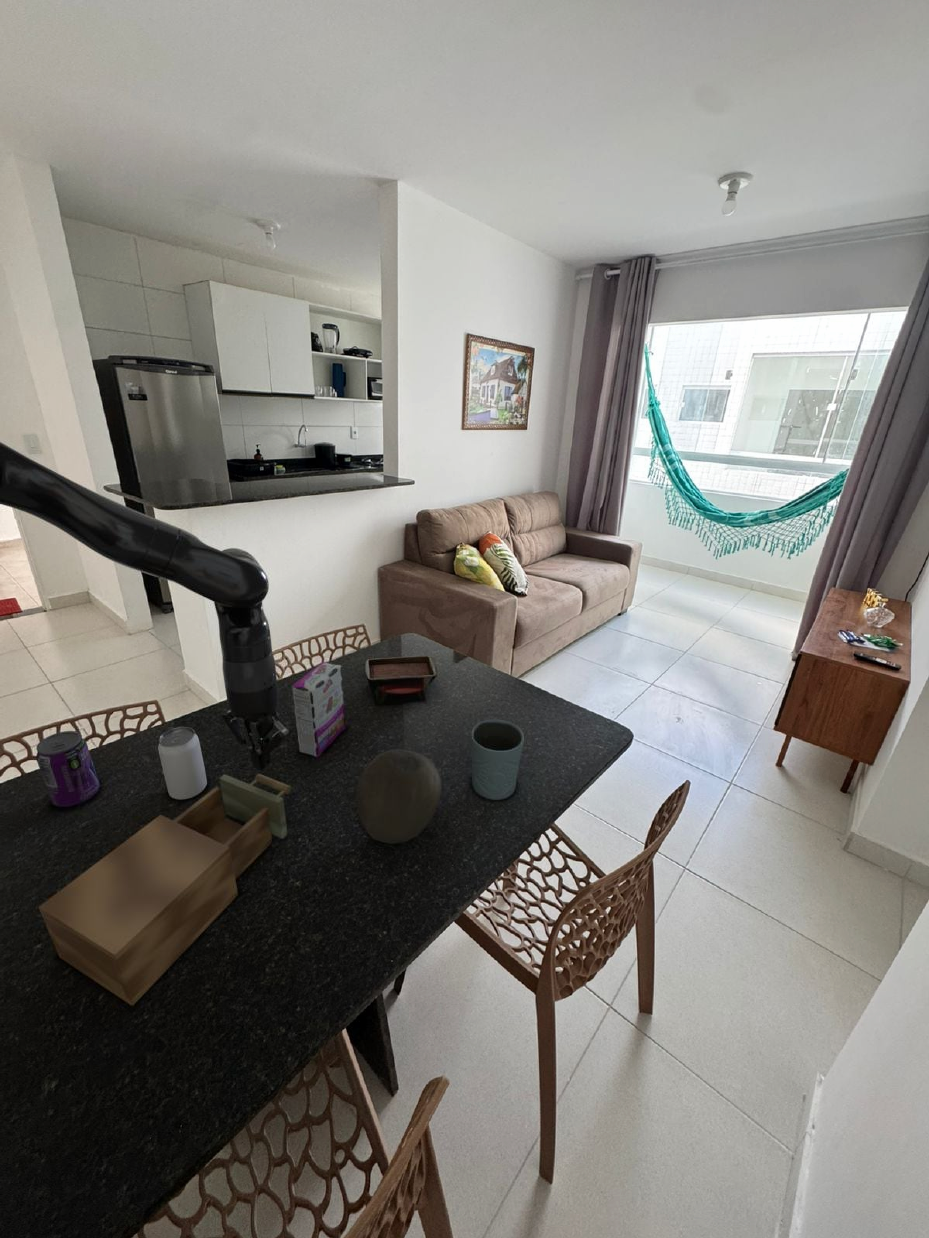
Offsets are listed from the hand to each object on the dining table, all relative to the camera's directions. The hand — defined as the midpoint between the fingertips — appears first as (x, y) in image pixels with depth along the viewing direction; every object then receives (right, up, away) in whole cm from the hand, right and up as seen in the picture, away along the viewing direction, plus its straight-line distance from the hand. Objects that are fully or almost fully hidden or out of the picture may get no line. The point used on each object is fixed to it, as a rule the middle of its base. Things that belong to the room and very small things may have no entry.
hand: (262, 766), depth 86 cm
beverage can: (-36, -7, +6) cm, 37 cm away
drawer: (-3, -12, -3) cm, 13 cm away
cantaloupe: (+23, -12, +3) cm, 26 cm away
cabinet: (-9, -18, -15) cm, 25 cm away
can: (-18, -7, +9) cm, 21 cm away
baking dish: (+18, +6, +44) cm, 48 cm away
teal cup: (+40, -8, +15) cm, 43 cm away
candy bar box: (+3, -2, +24) cm, 25 cm away
